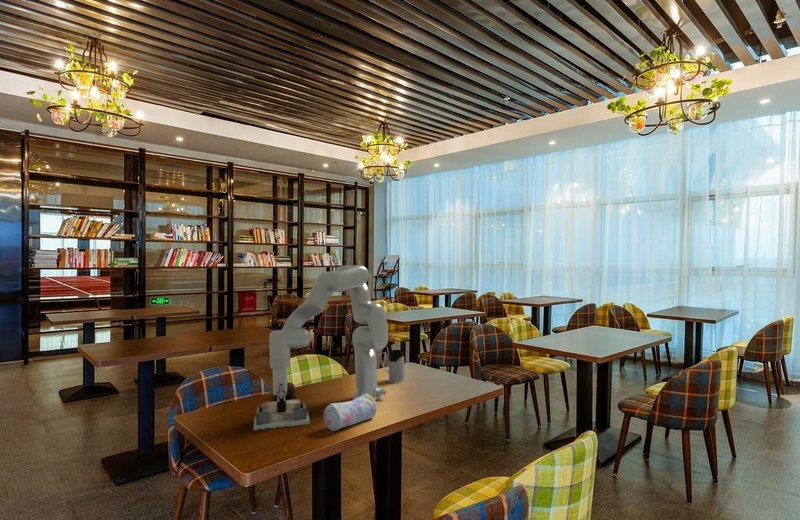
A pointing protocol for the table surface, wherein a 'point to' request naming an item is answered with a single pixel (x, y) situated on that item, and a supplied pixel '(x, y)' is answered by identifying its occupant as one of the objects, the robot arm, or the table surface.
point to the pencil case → (349, 412)
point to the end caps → (265, 417)
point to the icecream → (291, 391)
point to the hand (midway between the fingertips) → (281, 408)
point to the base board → (281, 423)
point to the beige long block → (281, 416)
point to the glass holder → (395, 366)
